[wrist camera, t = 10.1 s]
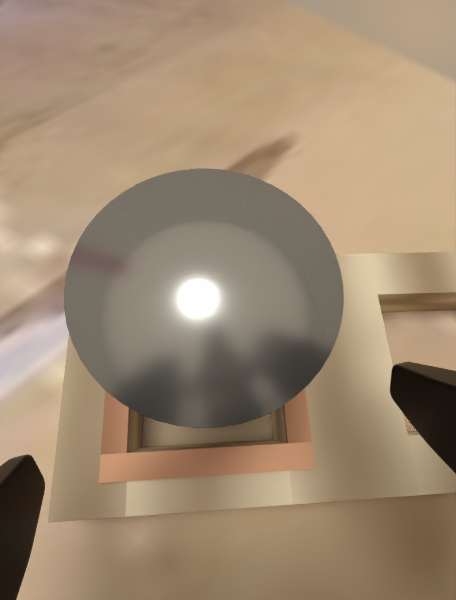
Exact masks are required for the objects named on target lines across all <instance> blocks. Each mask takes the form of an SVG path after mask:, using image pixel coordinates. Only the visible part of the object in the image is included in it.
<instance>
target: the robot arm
mask: <svg viewBox="0 0 456 600" xmlns="http://www.w3.org/2000/svg"><path fill="white" fill-rule="evenodd" d="M390 394H391V397H392V399H393V401H394V402H395V403H396V405H397V406H398V407H399V408H400V410H401V411H402V412H403V414H404V415H405V416H406V417H407V419H408V420H409V421H410V423H411V424H412V425H413V426H414V428H415V429H416V430H417V432H418V433H419V434H420V435H421V437H422V438H423V439H424V440H425V441H426V443H427V444H428V445H429V446H430V447H431V448H432V449H433V451H434V452H435V453H436V454H437V455H438V456H439V457H440V458H441V459H442V460H443V461H444V462H445V463H446V464H447V465H448V466H449V468H450V469H451V470H452V471H453V472H454V473H455V474H456V371H453V370H448V369H443V368H438V367H433V366H427V365H422V364H417V363H412V362H404V363H400V364H396V365H394V366H393V367H392V371H391V382H390ZM44 491H45V482H44V478H43V476H42V474H41V472H40V470H39V468H38V466H37V464H36V462H35V460H34V459H33V457H32V456H31V455H23V456H19V457H14V458H11V459H9V460H8V461H7V462H5V463H4V464H3V465H1V466H0V600H16V598H17V595H18V592H19V589H20V586H21V583H22V580H23V577H24V574H25V571H26V568H27V564H28V561H29V558H30V554H31V550H32V546H33V542H34V537H35V533H36V528H37V523H38V519H39V514H40V510H41V505H42V500H43V496H44Z"/></svg>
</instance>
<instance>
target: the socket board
mask: <svg viewBox="0 0 456 600" xmlns="http://www.w3.org/2000/svg"><path fill="white" fill-rule="evenodd" d="M336 257H337V260H338V264H339V267H340V270H341V275H342V282H343V291H344V306H343V315H342V322H341V326H340V330H339V333H338V337H337V340H336V342H335V344H334V347H333V349H332V351H331V354H330V356H329V357H328V359H327V360H326V362H325V364H324V365H323V367H322V369H321V370H320V371H319V373H318V374H317V375H316V376H315V377H314V379H313V380H312V381H311V382H310V384H309V385H308V386H306V387H305V388H304V389H303V390H302V391H301V392H300V393H299V394H298V395H297V396H295V397H294V398H293V399H291V400H290V401H288V402H287V403H285V404H284V405H283V406H281V407H280V408H278V409H276V410H274V411H272V412H271V419H272V430H273V440H259V441H242V442H225V443H208V444H191V445H174V446H157V447H142V424H143V415H142V414H139V413H137V412H136V411H134V410H132V409H131V408H129V407H127V406H125V405H124V404H122V403H120V402H119V401H118V400H117V399H115V398H114V397H113V396H112V395H110V394H109V393H108V392H107V391H105V390H104V389H103V388H102V387H101V385H100V384H99V383H98V382H97V381H96V380H95V379H94V378H93V377H92V376H91V374H90V373H89V371H88V370H87V369H86V367H85V366H84V364H83V363H82V361H81V360H80V358H79V356H78V354H77V351H76V349H75V347H74V345H73V343H72V340H71V337H70V334H69V339H68V348H67V357H66V366H65V375H64V384H63V393H62V402H61V411H60V420H59V429H58V438H57V447H56V456H55V465H54V474H53V483H52V492H51V501H50V510H49V519H48V522H61V521H75V520H89V519H102V518H116V517H129V516H143V515H157V514H170V513H184V512H198V511H211V510H225V509H239V508H252V507H266V506H280V505H293V504H307V503H321V502H334V501H348V500H361V499H375V498H389V497H402V496H416V495H430V494H443V493H456V474H455V473H454V472H453V471H452V470H451V469H450V468H449V466H448V465H447V464H446V463H445V462H444V461H443V460H442V459H441V458H440V457H439V456H438V455H437V454H436V453H435V452H434V451H433V449H432V448H431V447H430V446H429V445H428V444H427V443H426V441H425V440H424V439H423V438H422V437H421V435H420V434H419V433H418V432H417V431H411V432H407V429H406V424H405V419H404V415H403V412H402V411H401V410H400V408H399V407H398V406H397V405H396V403H395V402H394V401H393V399H392V397H391V394H390V382H391V371H392V367H393V364H392V359H391V355H390V350H389V345H388V341H387V336H386V331H385V327H384V322H383V317H382V313H381V312H396V311H427V310H456V252H432V253H381V254H336Z"/></svg>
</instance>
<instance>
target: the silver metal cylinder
mask: <svg viewBox="0 0 456 600" xmlns="http://www.w3.org/2000/svg"><path fill="white" fill-rule="evenodd" d="M343 306H344V291H343V282H342V275H341V270H340V267H339V264H338V260H337V257H336V254H335V252H334V250H333V248H332V245H331V243H330V241H329V239H328V238H327V236H326V235H325V233H324V231H323V230H322V228H321V227H320V225H319V224H318V223H317V222H316V220H315V219H314V218H313V217H312V215H311V214H310V213H309V212H308V211H307V210H306V209H305V208H304V207H303V206H302V205H301V204H299V203H298V202H297V201H296V200H294V199H293V198H292V197H290V196H289V195H288V194H286V193H285V192H283V191H281V190H280V189H278V188H276V187H275V186H273V185H271V184H269V183H266V182H264V181H262V180H260V179H257V178H254V177H251V176H249V175H246V174H242V173H237V172H233V171H227V170H219V169H189V170H180V171H175V172H170V173H166V174H162V175H159V176H156V177H153V178H150V179H148V180H146V181H143V182H141V183H139V184H137V185H135V186H133V187H131V188H130V189H128V190H126V191H125V192H123V193H121V194H120V195H119V196H117V197H116V198H115V199H113V200H112V201H111V202H109V203H108V204H107V205H106V206H105V207H104V208H103V209H102V210H101V211H100V212H99V213H98V214H97V215H96V216H95V218H94V219H93V220H92V221H91V222H90V224H89V225H88V226H87V228H86V229H85V231H84V232H83V234H82V236H81V237H80V239H79V241H78V243H77V245H76V247H75V249H74V252H73V254H72V256H71V259H70V263H69V266H68V270H67V273H66V280H65V287H64V310H65V316H66V323H67V327H68V331H69V334H70V337H71V340H72V343H73V345H74V347H75V349H76V351H77V354H78V356H79V358H80V360H81V361H82V363H83V364H84V366H85V367H86V369H87V370H88V371H89V373H90V374H91V376H92V377H93V378H94V379H95V380H96V381H97V382H98V383H99V384H100V385H101V387H102V388H103V389H104V390H105V391H107V392H108V393H109V394H110V395H112V396H113V397H114V398H115V399H117V400H118V401H119V402H120V403H122V404H124V405H125V406H127V407H129V408H131V409H132V410H134V411H136V412H137V413H139V414H142V415H144V416H147V417H149V418H152V419H154V420H157V421H160V422H164V423H168V424H172V425H176V426H184V427H193V428H215V427H225V426H230V425H236V424H241V423H244V422H247V421H250V420H253V419H256V418H259V417H262V416H264V415H266V414H268V413H270V412H272V411H274V410H276V409H278V408H280V407H281V406H283V405H284V404H285V403H287V402H288V401H290V400H291V399H293V398H294V397H295V396H297V395H298V394H299V393H300V392H301V391H302V390H303V389H304V388H305V387H306V386H308V385H309V384H310V382H311V381H312V380H313V379H314V377H315V376H316V375H317V374H318V373H319V371H320V370H321V369H322V367H323V365H324V364H325V362H326V360H327V359H328V357H329V356H330V354H331V351H332V349H333V347H334V344H335V342H336V340H337V337H338V333H339V330H340V326H341V322H342V315H343Z"/></svg>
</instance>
